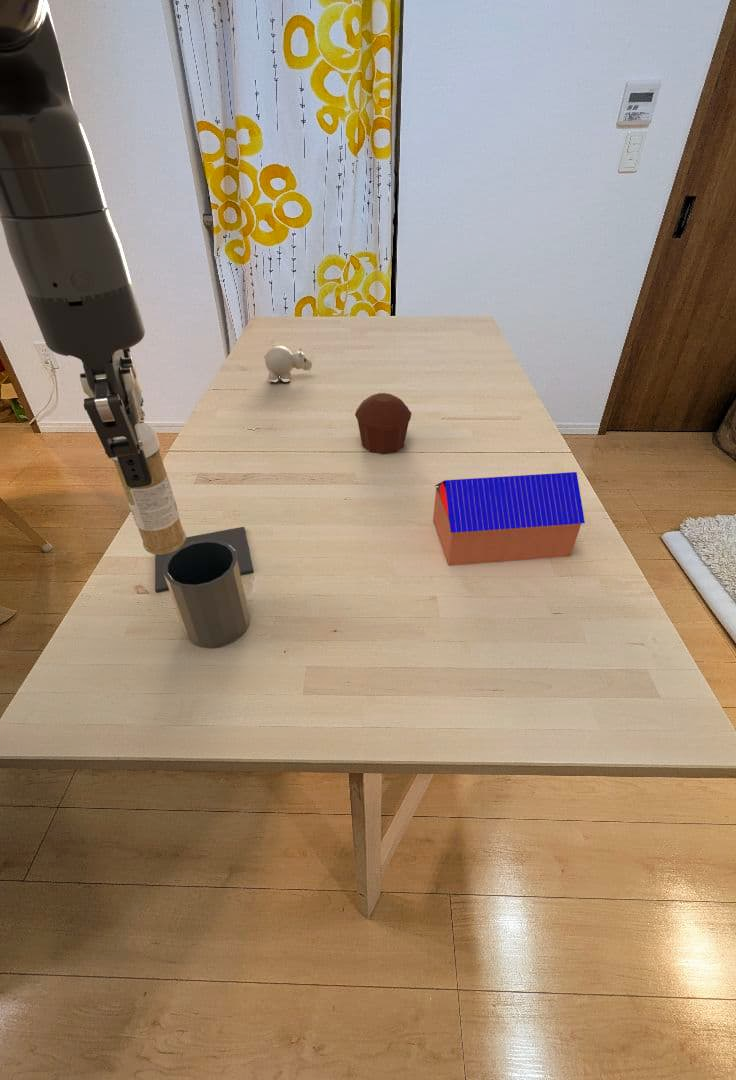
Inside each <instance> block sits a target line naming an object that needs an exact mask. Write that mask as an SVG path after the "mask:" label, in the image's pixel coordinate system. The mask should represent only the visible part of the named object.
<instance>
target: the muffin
mask: <svg viewBox="0 0 736 1080" xmlns="http://www.w3.org/2000/svg"><path fill="white" fill-rule="evenodd" d="M354 416H355V418H356V420H357V425H358V426H357V427H358V431H359V436H360V441H361V447H363V448H364V449H366V450H367V451H368V450H369V451H368V452H370V453H376V454H381V455H385V454H392V453H397V452H398V451H399V450H401V449H402V448H404V447H405V442H406V438H407V437H406V436H407V432H408V429H409V424H410V421H411V418H412V412H411V410H410V409H409V407H408V406H407V405H406V404H405V403H404V401H403V400H402V399H401V398H400V397H397V396H396V395H394V394H391V393H387V392H378V393H373V394H372V395H370V396H368V397H367V398H365V399H364V400H362V402H360V404H359V405H358V407H357V408H356V410H355V412H354Z"/></svg>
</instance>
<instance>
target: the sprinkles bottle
mask: <svg viewBox="0 0 736 1080" xmlns="http://www.w3.org/2000/svg"><path fill="white" fill-rule="evenodd" d="M137 428H138V431H139V435H140V439H141V441H142V442H143V446H142V448H143V451H144V454H145V457H146V460H147V463H148V467H149V470H150V473H151V476H152V483H151V484H150V485H148V486H142V487H136V488H130V487H128V486H127V484H126V481H125V478H124V476H123V473H122V470H121V467H120V465H119V462H118V459H117V457H115V458H111V460H112V461H113V464H114V466H115V469H116V472H117V474H118V478H119V479H120V483H121V486H122V488H123V492H124V496H125V498H126V500H127V504H128V507H129V509H130V512H131V515H132V517H133V518H132V519H133V520H134V524H135V525H136V527H137V528H138V532H139V534H140V537H141V540H142V546H143V548H144V549H145V551H146V552H148V553H150V554H151V555H155V554H167V553H171V552H173V551H176V550H178V549H179V548H180V547H181V546H182V545H183V544H184V542H185V541H186V537H187V535H186V532H185V531H184V529H183V525H182V523H181V519H180V512H179V509H178V506H177V505H178V504H177V501H176V500H175V496H174V492H173V488H172V486H171V483H170V478H169V475H168V471H166V467H165V464H164V461H163V457H162V455H161V449H160V447H161V446H160V445H161V444H160V441H159V438H158V433H157V432H156V429H155V428H154V426H152V425H151V424H149V423H146V422H144V423H137ZM119 439H126V437H123V436H121V437H116V440H119Z"/></svg>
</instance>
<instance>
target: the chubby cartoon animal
mask: <svg viewBox="0 0 736 1080" xmlns="http://www.w3.org/2000/svg"><path fill="white" fill-rule="evenodd" d="M313 362H314V358H313V357H312V355H310V358H309V357H308V358H307V356H306V354H305V353H304V352H303V351H302V348H301V347H300V348H299V349H298V350H297V351H296V352H294V353H293V352H291V350H290V349H288V348H287V347H286V346H283V345H274V346H273V347H271V348H269V349H268V351H267V352H266V353H265V354H264V363H265V367H266V369H267V370H268V372H269V375H268V380H269V379H270V380H276V379H278V378H279V376H280V378H282V379H289V378H290V377H291V372H292V371H293V369H296V370H301V369H302V370H304V371H310V370H311V369H312V367H313Z"/></svg>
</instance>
